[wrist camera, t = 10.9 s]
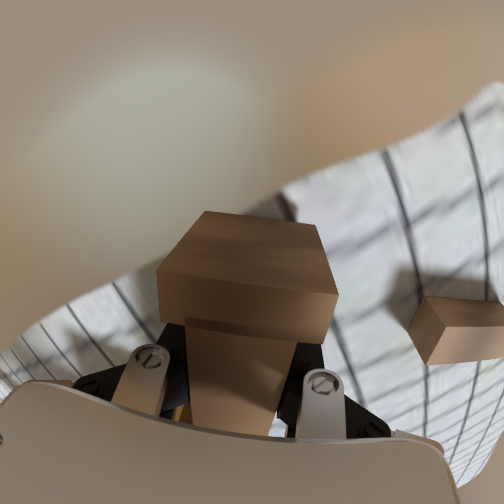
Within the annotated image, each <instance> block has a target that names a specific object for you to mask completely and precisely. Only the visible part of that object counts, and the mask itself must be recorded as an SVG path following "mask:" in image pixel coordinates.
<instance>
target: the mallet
mask: <svg viewBox="0 0 504 504" xmlns="http://www.w3.org/2000/svg"><path fill="white" fill-rule="evenodd" d="M156 272H157V286H158V298H159V308H160V318H161V321H163V322H167V323H172V324H177V325H183V326H185V334H186V351H187V365H188V377H189V388H190V398H191V408H192V417H193V425H196V426H201V427H206V428H211V429H217V430H223V431H229V432H236V433H243V434H251V435H260V436H268V433H269V430H270V427H271V424H272V421H273V419H274V416H275V413H276V410H277V407H278V404H279V401H280V397H281V394H282V391H283V388H284V385H285V382H286V378H287V375H288V372H289V369H290V365H291V362H292V358H293V355H294V352H295V348H296V345H297V342H302V343H313V344H323V342H324V339H325V336H326V333H327V330H328V327H329V324H330V321H331V318H332V315H333V312H334V309H335V306H336V303H337V299H338V296H339V294H338V291H337V288H336V285H335V281H334V278H333V275H332V272H331V269H330V266H329V263H328V260H327V257H326V254H325V251H324V248H323V245H322V243H321V240H320V237H319V234H318V231H317V228H316V226H315V225H311V224H304V223H297V222H290V221H283V220H275V219H268V218H260V217H252V216H244V215H236V214H228V213H219V212H210V211H205V212H204V213H203V214H202V215H201V216H200V218H199V219H198V220H197V221H196V222H195V223H194V225H193V226H192V227H191V228H190V229H189V231H188V232H187V233H186V234H185V235H184V237H183V238H182V239H181V240H180V242H179V243H178V244H177V245H176V246H175V248H174V249H173V250H172V251H171V252H170V254H169V255H168V256H167V257H166V259H165V260H164V261H163V262H162V264H161V265H160V266H159V267H158V269H157V270H156Z"/></svg>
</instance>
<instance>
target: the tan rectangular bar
mask: <svg viewBox="0 0 504 504" xmlns="http://www.w3.org/2000/svg"><path fill="white" fill-rule="evenodd" d="M408 334H409V336H410V338H411V339H412V341H413V343H414V345H415V347H416V349H417V351H418V353H419V354H420V356H421V358H422V360H423V362H424V364H425V365H440V364H452V363H463V362H473V361H481V360H489V359H496V358H502V357H504V306H503V305H502V304H501V303H500V302H491V301H478V300H465V299H453V298H441V297H430V296H423V298H422V300H421V303H420V305H419V307H418V310H417V312H416V314H415V317H414V319H413V321H412V323H411V325H410V328H409V330H408Z"/></svg>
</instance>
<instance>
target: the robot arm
mask: <svg viewBox="0 0 504 504" xmlns="http://www.w3.org/2000/svg"><path fill="white" fill-rule="evenodd" d="M190 399H191V398H190V388H189V377H188V365H187V351H186V334H185V326H183V325H177V324H172V323H167V325H166V327H165V328H164V330H163V332H162V334H161V336H160V338H159V339H158V341H157V343H156V344H146V345H142V346H140V347H138V348H136V349H135V350H134V351H133V353H132V354H131V356H130V358H129V361H128V363H126V364H123V365H120V366H117V367H114V368H110V369H107V370H104V371H100V372H97V373H93V374H90V375H86V376H84V377H81V378H79V379H78V380H77V381H76V382H75V383H72V381H71V380H29V381H27V382H25V383H23V384H21V385H19V386H18V387H16V388H15V389H14V390H13V391H12V392H10V393H9V394H8V396H7V397H6V398H5V399H4V400H3V401H2V402H1V403H0V504H461V502H460V498H459V494H458V490H457V487H456V483H455V480H454V477H453V474H452V472H451V469H450V467H449V465H448V463H447V460H446V459H445V457H444V450H443V447H442V446H441V445H440V444H439V443H438V442H436V441H434V440H431V439H427V438H424V437H420V436H417V435H413V434H410V433H407V432H404V431H400V430H397V429H396V430H395V431H391V430H390V428H389V426H388V425H387V424H386V423H385V422H384V421H383V420H381V419H380V418H378V417H377V416H375V415H374V414H372V413H371V412H369V411H368V410H366V409H365V408H363V407H362V406H360V405H359V404H357V403H356V402H355V401H353V400H352V399H350V398H349V397H347V396H346V395H344V386H343V382H342V380H341V378H340V377H339V376H338V375H337V374H336V373H334V372H332V371H330V370H326V369H325V367H324V361H323V355H322V349H321V344H313V343H302V342H297V345H296V348H295V352H294V355H293V358H292V362H291V365H290V369H289V372H288V375H287V378H286V382H285V385H284V388H283V391H282V394H281V397H280V401H279V404H278V407H277V410H276V411H277V418H278V419H281V420H282V421H283V422H284V423H285V424H287V425H286V430H285V437H271V436H260V435H251V434H243V433H236V432H229V431H223V430H217V429H211V428H206V427H201V426H196V425H191V424H186V423H182V422H178V421H174V420H175V415H176V409H177V407H179V406H181V405H183V404H185V405H189V402H190Z"/></svg>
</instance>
